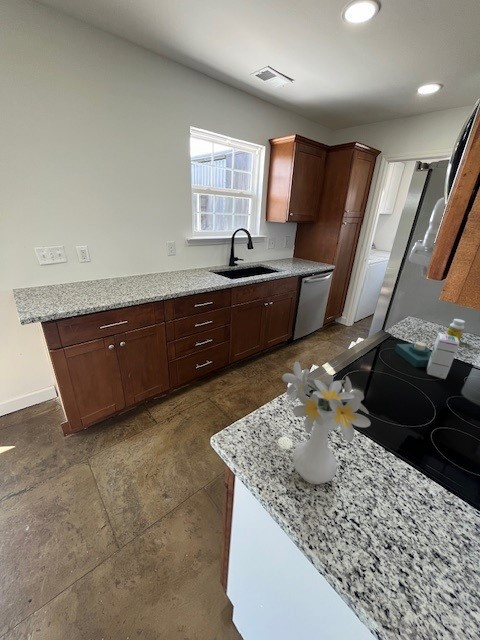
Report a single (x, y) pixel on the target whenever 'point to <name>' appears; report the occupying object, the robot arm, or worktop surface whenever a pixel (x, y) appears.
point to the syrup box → (442, 355)
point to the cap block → (414, 354)
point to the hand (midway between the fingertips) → (425, 278)
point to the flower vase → (322, 421)
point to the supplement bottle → (456, 328)
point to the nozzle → (420, 345)
